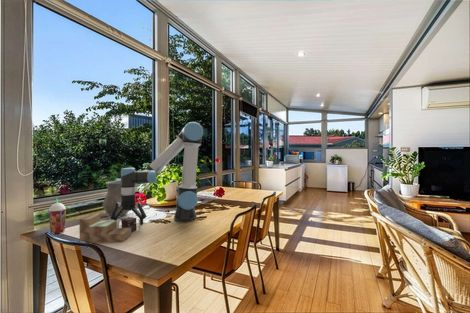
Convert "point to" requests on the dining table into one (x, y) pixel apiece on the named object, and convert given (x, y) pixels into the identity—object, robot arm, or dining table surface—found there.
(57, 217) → the smoothie
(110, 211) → the vase
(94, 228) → the stepped block
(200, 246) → the dining table surface
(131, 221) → the box
